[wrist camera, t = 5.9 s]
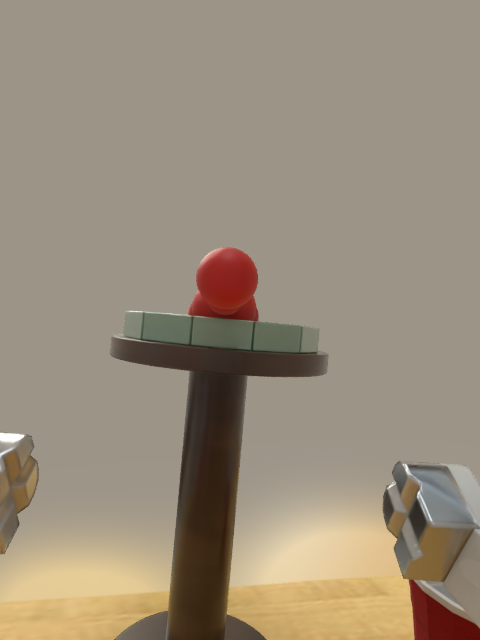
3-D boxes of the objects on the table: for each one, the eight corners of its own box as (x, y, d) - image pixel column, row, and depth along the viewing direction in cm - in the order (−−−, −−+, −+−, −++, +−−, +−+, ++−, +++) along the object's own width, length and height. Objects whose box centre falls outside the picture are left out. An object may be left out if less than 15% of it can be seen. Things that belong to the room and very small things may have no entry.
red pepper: (190, 334, 38) (194, 284, 38) (253, 339, 38) (257, 290, 38) (135, 352, 14) (146, 219, 14) (304, 365, 14) (315, 234, 14)
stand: (255, 609, 42) (278, 343, 43) (339, 776, 27) (374, 360, 27) (83, 629, 37) (110, 330, 38) (66, 847, 22) (113, 342, 23)
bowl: (274, 343, 42) (275, 325, 42) (356, 358, 28) (359, 330, 28) (120, 331, 37) (122, 311, 37) (128, 342, 24) (131, 309, 24)
